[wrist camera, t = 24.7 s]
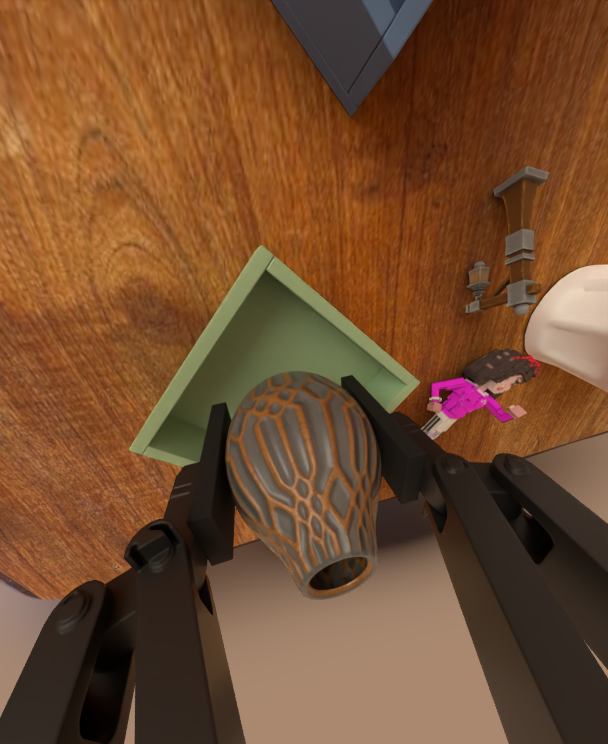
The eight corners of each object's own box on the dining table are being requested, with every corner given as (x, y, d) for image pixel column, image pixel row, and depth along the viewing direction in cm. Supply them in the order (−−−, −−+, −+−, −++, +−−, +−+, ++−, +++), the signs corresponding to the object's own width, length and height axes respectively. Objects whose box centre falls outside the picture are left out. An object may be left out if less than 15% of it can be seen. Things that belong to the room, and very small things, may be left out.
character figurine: (418, 441, 25) (514, 354, 20) (451, 485, 21) (581, 387, 16) (381, 426, 23) (479, 324, 18) (409, 471, 18) (546, 352, 14)
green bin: (152, 410, 15) (127, 451, 12) (256, 248, 13) (261, 243, 9) (295, 466, 21) (305, 504, 17) (389, 360, 18) (421, 382, 15)
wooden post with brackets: (454, 325, 17) (527, 310, 12) (456, 215, 17) (531, 162, 12) (473, 326, 17) (550, 313, 13) (475, 220, 17) (554, 169, 13)
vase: (272, 330, 12) (326, 458, 4) (361, 387, 15) (486, 523, 7) (207, 425, 13) (158, 647, 6) (299, 460, 16) (348, 636, 9)
